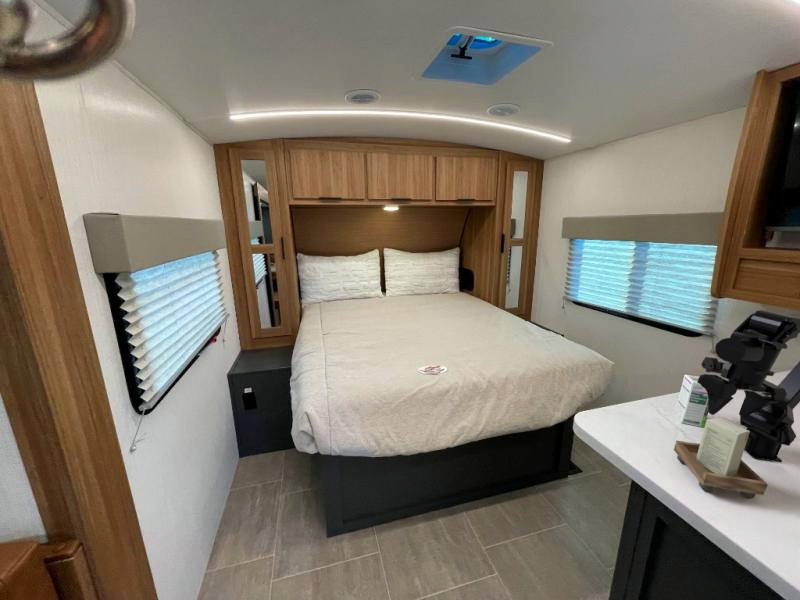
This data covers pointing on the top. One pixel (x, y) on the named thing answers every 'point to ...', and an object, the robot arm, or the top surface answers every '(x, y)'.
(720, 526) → the top surface
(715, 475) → the shallow wooden tray
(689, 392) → the syrup box
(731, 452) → the skincare box
